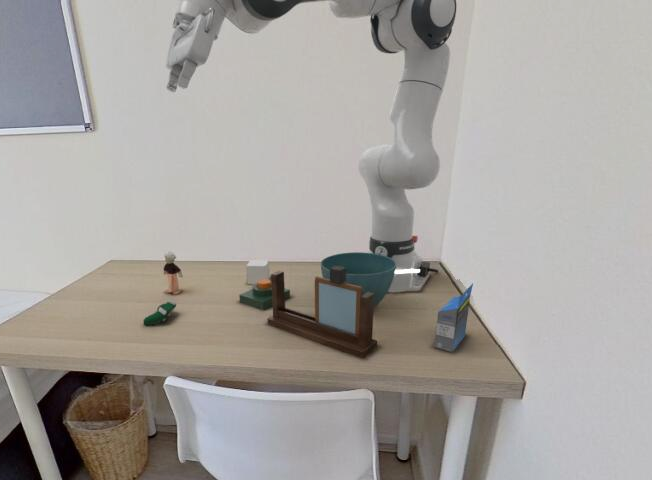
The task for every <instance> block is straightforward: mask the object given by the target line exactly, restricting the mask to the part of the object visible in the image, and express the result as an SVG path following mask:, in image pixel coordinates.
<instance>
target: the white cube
mask: <svg viewBox="0 0 652 480" xmlns="http://www.w3.org/2000/svg"><path fill="white" fill-rule="evenodd" d="M245 267H246V281H247V285H255V284H257V283H258V281H259V280H263V279H267V280H271V273H270V272H271V271H270V270H271V269H270V260H269V259H250V260H249V262H248V263H247V264H246V265H245Z"/></svg>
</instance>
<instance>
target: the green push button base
mask: <svg viewBox="0 0 652 480" xmlns="http://www.w3.org/2000/svg"><path fill="white" fill-rule="evenodd" d="M284 289H285V300H286V299H289V298H291V290H290V289H288V288H285V287H284ZM238 296H239V303H242V304H244V305H248V306H251V307H254V308H257V309H259V310H264V311H265V310H266V309H269V308H270V307H273V306H272V286H271V288H268V289H259V288H258V283H257V284H252V288H251V289H250V290H247V291H245V292H243V293H240V294H239V295H238Z"/></svg>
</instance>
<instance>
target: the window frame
mask: <svg viewBox="0 0 652 480" xmlns="http://www.w3.org/2000/svg"><path fill="white" fill-rule="evenodd" d="M270 281H271V286H272V306H271V307H272V315H271V316H269V317H268V318H267V321H266V322H267V325H270V326H273V327H275V328H278V329H280V330H282V331H285V332H288V333H292V334H294V335H297V336H299V337H303V338H304V339H305V338H306V339H308V340H310V341H313V342H316V343H319V344H322V345H324V346H327V347H330V348H332V349H336V350H339V351H341V352H343V353H347V354H350V355H352V356H355V357H358V358H361V359H364V358H366V357H367V356H368V355H369V354H370V353H372V352H373V351H374V350H375V349H376V348H377V347H378V342H379V341H378V340H377V339H374V338H373V332H374V331H373V330H374V328H373V327H374V314H375V313H374V312H375V311H374V310H375V308H374V293H370V292H367V293H365V294H363V295H362V296H360V315H359V335H356V334H353V333H350V332H346V331H343V330H340V329H337V328H334V327H331V326H328V325H325V324H322V323H318V322H315V315H311V314H309V313H305V312H302V311H299V310H295V309H292V308H289V307H286V299H285V289H286V288H285V271H283V270H278V271H276V272H275V271H274V272H272V273H270ZM284 288H285V289H284Z"/></svg>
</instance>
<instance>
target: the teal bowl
mask: <svg viewBox="0 0 652 480" xmlns="http://www.w3.org/2000/svg"><path fill="white" fill-rule="evenodd" d="M334 266H341V267H346V281H345V282H344V283H348V284H352V285H357V286H361V287H362V289H363V294H365V293H367V292H370V293H374V309H375V308H377V306H378V305H379V304H380V303H381V302H382V301H383V299H384V298H385V297H386V295H387V293H389V292H388V290H389V288H390V286H391V284H392V281H393V278H394V274H395V269H396V262H395V261H394V260H393V259H391V258H389V257H387V256H384V255H379V254H374V253H368V252H363V251H362V252H359V251H357V252H356V251H355V252H354V251H353V252H343V253H337V254H333V255H329V256H327V257H324V258H323V259H322V260H321V261H320V271H321V277H322V278H326V279H330V268H332V267H334Z"/></svg>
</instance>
